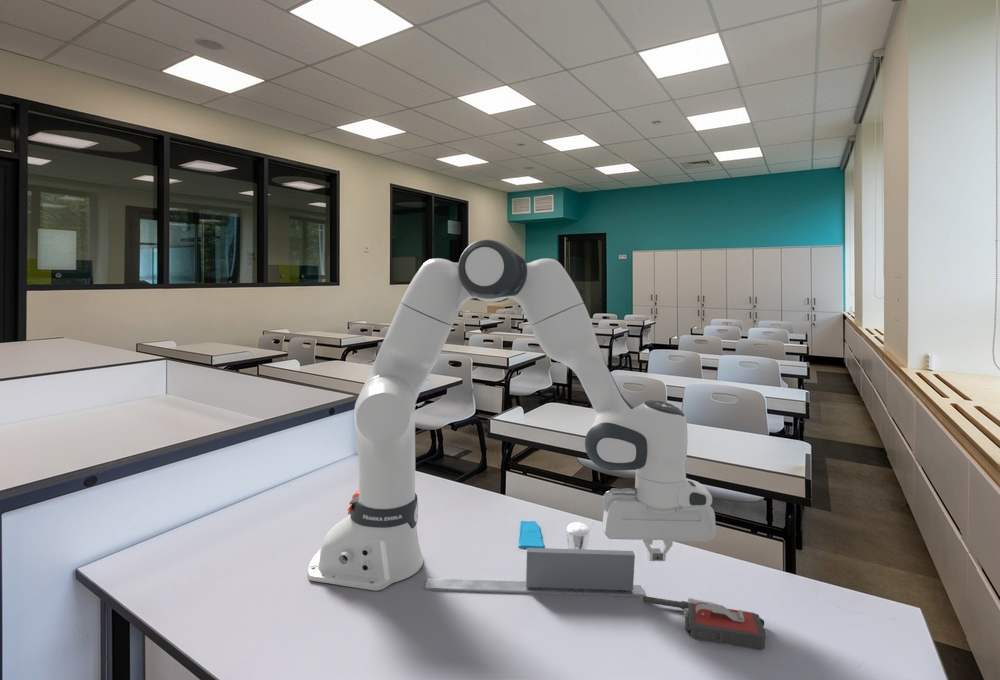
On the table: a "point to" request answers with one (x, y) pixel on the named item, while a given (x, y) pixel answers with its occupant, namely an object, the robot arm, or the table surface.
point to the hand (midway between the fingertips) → (656, 559)
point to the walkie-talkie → (719, 623)
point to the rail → (521, 588)
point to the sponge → (530, 535)
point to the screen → (580, 569)
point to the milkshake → (577, 535)
